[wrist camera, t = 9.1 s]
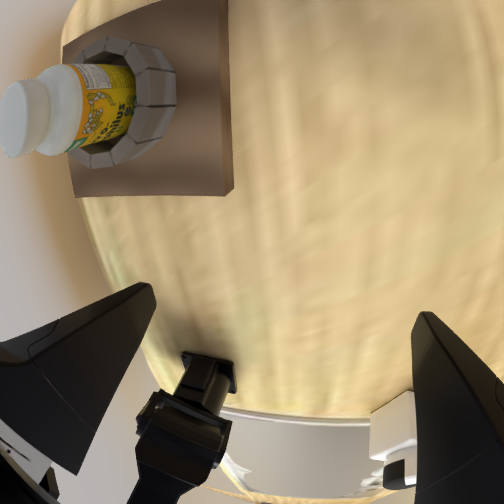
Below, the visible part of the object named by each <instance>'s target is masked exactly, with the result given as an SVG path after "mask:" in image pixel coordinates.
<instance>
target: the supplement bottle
mask: <svg viewBox="0 0 504 504" xmlns="http://www.w3.org/2000/svg"><path fill="white" fill-rule="evenodd" d="M136 106H137V98H136V76H135V74H134V72H133V71H132V69H131V67H130V66H123V65H106V64H59V65H55V66H52V67H49V68H47V69H46V70H44V71H43V72H42V73H41V74H40V75H39V76H38V77H37V78H36V79H27V80H21V81H16V82H13V83H12V84H10V85H9V86H8V87H7V89H6V90H5V92H4V94H3V96H2V99H1V102H0V143H1V146H2V149H3V150H4V152H5V154H6V155H7V156H8V157H10V158H16V157H19V156H22V155H25V154H29V153H31V152H33V151H34V150H36V151H38V152H39V153H41V154H43V155H47V156H53V155H58V154H61V153H64V152H67V151H70V150H73V149H76V148H79V147H82V146H86V145H89V144H93V143H96V142H99V141H103V140H107V139H110V138H115V137H118V136H122V135H126V134H127V132H128V129H129V126H130V123H131V120H132V117H133V115H134V112H135V109H136Z"/></svg>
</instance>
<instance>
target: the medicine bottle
mask: <svg viewBox="0 0 504 504" xmlns="http://www.w3.org/2000/svg"><path fill="white" fill-rule="evenodd" d="M369 457H370V458H371V459H376V460H384V461H385V462H384V470H383V487H384V488H385V489H389V490H401V489H406V488H411V487H414V486H416V475H417V429H416V411H415V398H414V392H411V391H408V390H407V391H405V392H404V393H402V394H401V395H399V396H398V397H396V398H395V399H393V400H392V401H390V402H389V403H387V404H386V405H384V406H383V407H381V408H379V409H378V410H376V411H374V412H373V413H371V414H370V453H369Z"/></svg>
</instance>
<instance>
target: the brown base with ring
mask: <svg viewBox="0 0 504 504" xmlns="http://www.w3.org/2000/svg"><path fill="white" fill-rule="evenodd" d="M62 64H106V65H123V66H130V67H131V69H132V71H133V72H134V74H135V76H136V98H137V106H136V109H135V112H134V115H133V117H132V120H131V123H130V126H129V129H128V132H127V134H126V135H122V136H118V137H115V138H110V139H107V140H103V141H99V142H96V143H93V144H89V145H86V146H82V147H79V148H76V149H73V150H70V151H67V153H68V160H69V166H70V172H71V178H72V184H73V189H74V194H75V198H81V197H104V196H147V195H182V196H226V195H227V194H228V193H229V192H230V191H231V190H233V189H234V179H233V158H232V134H231V108H230V78H229V42H228V0H161V1H158V2H155V3H152V4H149V5H147V6H144V7H141V8H139V9H136V10H134V11H131V12H129V13H126V14H124V15H122V16H120V17H117V18H115V19H113V20H111V21H109V22H107V23H105V24H103V25H101V26H99V27H97V28H95V29H93V30H91V31H89V32H87V33H85V34H84V35H82V36H80V37H78V38H77V39H75V40H73V41H71V42H70V43H68V44H67V45H65V46H63V57H62Z"/></svg>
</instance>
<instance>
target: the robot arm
mask: <svg viewBox="0 0 504 504" xmlns="http://www.w3.org/2000/svg"><path fill="white" fill-rule="evenodd" d="M155 309H156V299H155V295H154V292H153V288H152V286H151V284H149V283H145V282H139V283H136V284H134V285H132V286H130V287H127V288H125V289H123V290H121V291H119V292H116V293H114V294H112V295H110V296H107V297H105V298H103V299H101V300H99V301H96V302H94V303H92V304H90V305H88V306H85V307H83V308H81V309H79V310H77V311H75V312H72V313H71V314H68V315H66V316H64V317H62V318H60V319H57V320H55V321H53V322H51V323H49V324H46V325H44V326H42V327H40V328H37V329H35V330H33V331H30V332H27V333H25V334H23V335H20V336H18V337H15V338H12V339H10V340H7V341H4V342H0V504H60V503H59V502H58V501H57V498H58V497H59V495H60V494H59V490H58V486H57V482H56V478H55V473H54V469H53V468H52V467H51V466H50V465H51V463H52V462H53V461H54V462H55V463H57V464H58V465H60V466H61V467H63V468H64V469H66V470H68V471H69V472H71V473H73V474H74V475H76V476H77V474H78V472H79V470H80V468H81V466H82V463H83V461H84V458H85V456H86V454H87V451H88V449H89V447H90V444H91V443H92V440H93V438H94V436H95V434H96V431H97V429H98V427H99V425H100V423H101V421H102V418H103V416H104V414H105V412H106V410H107V408H108V406H109V404H110V402H111V400H112V398H113V396H114V394H115V392H116V390H117V388H118V386H119V384H120V382H121V380H122V378H123V376H124V374H125V372H126V370H127V368H128V366H129V365H130V362H131V361H132V359H133V357H134V355H135V353H136V351H137V349H138V348H139V346H140V344H141V342H142V339H143V337H144V335H145V333H146V330H147V328H148V325H149V323H150V321H151V318H152V316H153V314H154V311H155ZM411 348H412V378H413V388H414V398H415V411H416V429H417V475H416V494H415V502H414V504H504V384H503V382H502V381H501V380H500V379H499V378H498V377H497V376H496V375H495V374H494V373H493V371H492V370H491V369H490V368H489V367H488V366H487V365H486V364H485V363H484V362H483V361H482V360H481V359H480V358H479V357H478V356H477V355H476V354H475V353H474V352H473V351H472V350H471V349H470V348H469V347H468V346H467V345H466V344H465V343H464V342H463V341H462V340H461V339H460V338H459V337H458V336H457V335H456V334H455V333H454V332H453V331H452V330H451V329H450V328H449V327H448V326H447V325H446V324H445V323H444V322H443V321H441V320H440V319H439V318H438V317H437V316H436V315H435V314H434V313H433V312H430V311H422V312H420V313H419V315H418V317H417V319H416V322H415V324H414V327H413V329H412V332H411ZM181 358H182V361H183V364H184V367H185V372H184V374H183V376H182V378H181V380H180V381H179V383H178V385H177V387H176V389H175V391H174V393H173V395H171V394H169V393H167V392H165V390H163V389H160V390H159V392H153V394H152V395H151V397H150V399H149V401H148V402H147V404H146V405H145V406H144V407H143V409H142V410H141V411H140V413H139V414H138V416H137V417H136V421H137V424H138V425H137V431H136V434H137V435H139V436H141V437H140V439H139V441H138V443H137V445H136V447H135V452H136V460H137V466H138V472H139V480H138V482H137V484H136V486H135V488H134V490H133V492H132V494H131V496H130V498H129V500H128V502H127V504H177V501H178V499H179V497H180V496H181V495H182V494H184V493H186V492H188V491H189V490H191V489H192V488H194V487H196V486H197V487H198V486H200V485H201V484H202V483H204V482H205V481H206V479H207V478H208V476H209V473H210V471H211V469H212V468H213V469H216V468H217V466H218V465H219V464H220V462H221V460H222V458H223V456H224V453H225V451H226V447H227V443H228V439H229V435H230V430H231V426H232V421H231V420H226V419H223V418H221V417H219V414H220V411H221V408H222V406H223V403H224V401H225V398H226V395H227V393H232V394H235V393H236V392H237V386H236V379H235V371H234V364H233V363H231V362H228V361H223V360H219V359H214V358H209V357H205V356H200V355H196V354H192V353H188V352H182V353H181ZM496 377H497V378H496Z"/></svg>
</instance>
